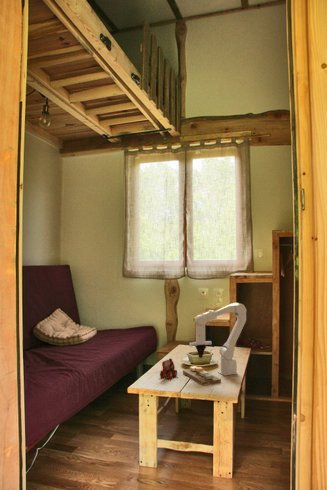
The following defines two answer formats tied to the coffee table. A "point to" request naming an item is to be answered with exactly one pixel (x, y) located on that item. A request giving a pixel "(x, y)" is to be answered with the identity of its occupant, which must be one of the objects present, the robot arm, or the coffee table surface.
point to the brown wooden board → (201, 379)
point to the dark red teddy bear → (168, 369)
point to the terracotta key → (198, 369)
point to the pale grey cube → (208, 376)
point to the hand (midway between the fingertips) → (200, 357)
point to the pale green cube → (203, 373)
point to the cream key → (192, 368)
